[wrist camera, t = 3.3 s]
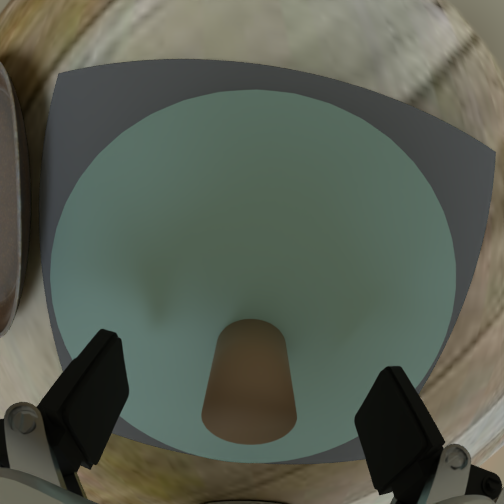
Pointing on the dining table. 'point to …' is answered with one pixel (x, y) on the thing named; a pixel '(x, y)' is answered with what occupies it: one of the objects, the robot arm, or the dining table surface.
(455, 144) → the mat
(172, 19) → the dining table surface
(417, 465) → the robot arm
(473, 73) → the dining table surface
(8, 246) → the plant saucer
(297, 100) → the lid
